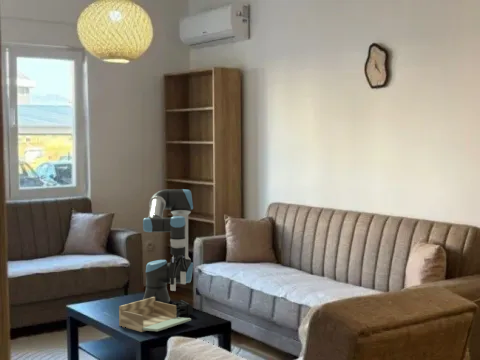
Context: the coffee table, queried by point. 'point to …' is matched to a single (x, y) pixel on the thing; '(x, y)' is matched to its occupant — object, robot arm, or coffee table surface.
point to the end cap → (183, 308)
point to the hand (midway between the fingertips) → (178, 287)
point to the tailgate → (166, 324)
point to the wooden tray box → (145, 313)
